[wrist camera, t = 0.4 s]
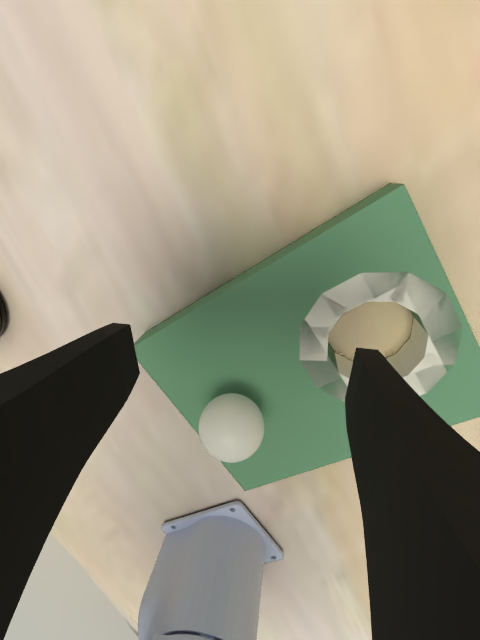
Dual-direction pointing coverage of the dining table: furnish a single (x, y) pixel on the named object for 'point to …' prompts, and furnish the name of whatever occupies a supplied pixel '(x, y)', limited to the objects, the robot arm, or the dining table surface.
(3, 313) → the supplement container
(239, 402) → the ball
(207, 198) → the dining table surface
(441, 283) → the putting mat
